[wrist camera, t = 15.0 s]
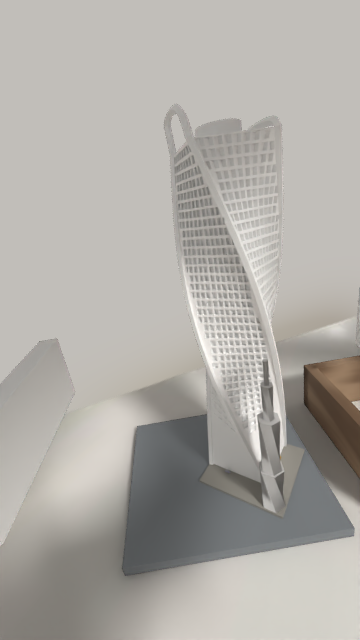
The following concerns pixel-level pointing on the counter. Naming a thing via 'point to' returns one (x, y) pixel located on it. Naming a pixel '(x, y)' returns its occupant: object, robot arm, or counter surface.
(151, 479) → the slate mat
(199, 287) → the twisted skyscraper model
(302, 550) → the counter surface
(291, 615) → the counter surface
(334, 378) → the walnut bay
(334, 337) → the counter surface
